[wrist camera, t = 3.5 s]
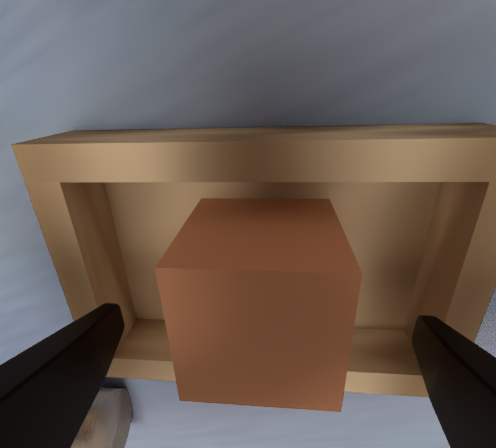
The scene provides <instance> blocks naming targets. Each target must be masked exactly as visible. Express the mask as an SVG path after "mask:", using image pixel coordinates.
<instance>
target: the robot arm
mask: <svg viewBox="0 0 496 448" xmlns="http://www.w3.org/2000/svg"><path fill="white" fill-rule="evenodd" d="M124 327H125V324H124V319H123V315H122V312H121V308H120V306H119V304H117V303H104V304H103V305H101V306H99V307H97V308H96V309H94V310H92V311H91V312H89V313H87V314H86V315H84V316H82V317H81V318H79V319H77V320H76V321H74V322H72V323H71V324H69V325H67V326H65V327H64V328H62V329H60V330H59V331H57V332H55V333H54V334H52V335H50V336H49V337H47V338H45V339H44V340H42V341H40V342H38V343H37V344H35V345H33V346H32V347H30V348H28V349H27V350H25V351H23V352H22V353H20V354H18V355H17V356H15V357H13V358H11V359H10V360H8V361H6V362H5V363H3V364H1V365H0V448H71V446H72V444H73V442H74V440H75V438H76V436H77V434H78V432H79V430H80V428H81V426H82V424H83V422H84V420H85V418H86V416H87V414H88V412H89V410H90V408H91V406H92V404H93V402H94V400H95V398H96V396H97V394H98V392H99V390H100V388H101V386H102V384H103V382H104V380H105V378H106V375H107V373H108V371H109V368H110V365H111V363H112V360H113V358H114V355H115V352H116V350H117V347H118V345H119V342H120V339H121V337H122V334H123V331H124ZM412 345H413V348H414V351H415V355H416V358H417V361H418V364H419V367H420V371H421V374H422V377H423V380H424V383H425V387H426V390H427V393H428V395H429V398H430V401H431V403H432V406H433V408H434V410H435V413H436V415H437V417H438V420H439V422H440V424H441V427H442V429H443V431H444V433H445V436H446V438H447V440H448V443H449V445H450V447H451V448H496V358H495V357H494V356H492V355H491V354H490V353H488V352H487V351H485V350H484V349H482V348H481V347H479V346H478V345H476V344H475V343H473V342H472V341H471V340H469V339H468V338H466V337H465V336H463V335H462V334H460V333H459V332H457V331H456V330H455V329H453V328H452V327H450V326H449V325H447V324H446V323H444V322H443V321H441V320H440V319H438V318H437V317H435V316H432V315H419V316H418V317H417V319H416V322H415V326H414V330H413V333H412Z"/></svg>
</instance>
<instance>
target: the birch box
mask: <svg viewBox="0 0 496 448" xmlns="http://www.w3.org/2000/svg"><path fill="white" fill-rule="evenodd" d="M12 148H13V151H14V154H15V156H16V159H17V162H18V165H19V168H20V170H21V173H22V176H23V179H24V182H25V185H26V187H27V190H28V193H29V196H30V199H31V201H32V204H33V207H34V210H35V213H36V216H37V218H38V221H39V224H40V227H41V230H42V233H43V235H44V238H45V241H46V244H47V247H48V249H49V252H50V255H51V258H52V261H53V264H54V266H55V269H56V272H57V275H58V278H59V281H60V283H61V286H62V289H63V292H64V295H65V297H66V300H67V303H68V306H69V309H70V312H71V314H72V317H73V320H74V321H76V320H77V319H79V318H81V317H82V316H84V315H86V314H87V313H89V312H91V311H92V310H94V309H96V308H97V307H99V306H101V305H103V304H104V303H117V304H119V306H120V308H121V312H122V315H123V319H124V324H125V327H124V331H123V334H122V337H121V339H120V342H119V345H118V347H117V350H116V352H115V355H114V358H113V360H112V363H111V365H110V368H109V371H108V373H107V375H106V377H117V378H133V379H149V380H165V381H176V378H175V373H174V367H173V362H172V357H171V352H170V346H169V341H168V336H167V330H166V325H165V320H164V314H163V309H162V304H161V299H160V293H159V288H158V283H157V277H156V272H155V267H156V265H157V264H158V262H159V261H160V259H161V258H162V256H163V255H164V253H165V252H166V250H167V249H168V247H169V246H170V244H171V243H172V241H173V240H174V238H175V237H176V235H177V234H178V232H179V231H180V229H181V228H182V226H183V225H184V223H185V222H186V220H187V219H188V217H189V216H190V214H191V213H192V211H193V210H194V208H195V207H196V205H197V204H198V202H199V201H200V199H201V198H240V199H330V201H331V204H332V206H333V208H334V210H335V213H336V215H337V217H338V219H339V222H340V224H341V226H342V228H343V231H344V233H345V235H346V237H347V239H348V242H349V244H350V246H351V248H352V251H353V253H354V255H355V257H356V260H357V262H358V264H359V266H360V269H361V271H362V273H363V274H362V280H361V287H360V293H359V299H358V306H357V312H356V319H355V325H354V331H353V338H352V344H351V350H350V357H349V363H348V369H347V376H346V382H345V388H344V392H357V393H373V394H389V395H405V396H421V397H429V395H428V393H427V390H426V387H425V383H424V380H423V377H422V374H421V371H420V367H419V364H418V361H417V358H416V355H415V351H414V348H413V345H412V333H413V330H414V326H415V322H416V319H417V317H418V316H419V315H432V316H435V317H437V318H438V319H440V320H441V321H443V322H444V323H446V324H447V325H449V326H450V327H452V328H453V329H455V330H456V331H457V332H459V333H460V334H462V335H463V336H465V337H466V338H468V339H469V340H471V341H472V342H473V343H474V341H475V339H476V336H477V333H478V331H479V328H480V326H481V323H482V321H483V318H484V315H485V313H486V310H487V308H488V305H489V303H490V300H491V297H492V295H493V292H494V290H495V287H496V126H495V125H489V124H484V123H465V124H410V125H356V126H301V127H247V128H193V129H138V130H84V131H69V132H64V133H60V134H55V135H51V136H47V137H42V138H38V139H34V140H29V141H25V142H20V143H16V144H12Z"/></svg>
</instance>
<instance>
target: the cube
mask: <svg viewBox="0 0 496 448" xmlns="http://www.w3.org/2000/svg"><path fill="white" fill-rule="evenodd" d="M155 272H156V277H157V283H158V288H159V293H160V299H161V304H162V309H163V314H164V320H165V325H166V330H167V336H168V341H169V346H170V352H171V357H172V362H173V367H174V373H175V378H176V383H177V389H178V394H179V399H180V401H192V402H206V403H221V404H236V405H250V406H265V407H279V408H294V409H308V410H323V411H337V412H341V407H342V401H343V395H344V388H345V382H346V376H347V369H348V363H349V357H350V350H351V344H352V338H353V331H354V325H355V319H356V312H357V306H358V299H359V293H360V287H361V280H362V274H363V273H362V271H361V269H360V266H359V264H358V262H357V260H356V257H355V255H354V253H353V251H352V248H351V246H350V244H349V242H348V239H347V237H346V235H345V233H344V231H343V228H342V226H341V224H340V222H339V219H338V217H337V215H336V213H335V210H334V208H333V206H332V204H331V201H330V199H240V198H201V199H200V201H199V202H198V204H197V205H196V207H195V208H194V210H193V211H192V213H191V214H190V216H189V217H188V219H187V220H186V222H185V223H184V225H183V226H182V228H181V229H180V231H179V232H178V234H177V235H176V237H175V238H174V240H173V241H172V243H171V244H170V246H169V247H168V249H167V250H166V252H165V253H164V255H163V256H162V258H161V259H160V261H159V262H158V264H157V265H156V267H155Z"/></svg>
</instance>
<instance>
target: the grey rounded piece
mask: <svg viewBox="0 0 496 448" xmlns="http://www.w3.org/2000/svg"><path fill="white" fill-rule="evenodd" d="M131 415H132V403H131V400H130V396H129V393H128V391H127V390H126V389H123V388H109V387H101V388H100V390H99V392H98V394H97V396H96V398H95V400H94V402H93V404H92V406H91V408H90V410H89V412H88V414H87V416H86V418H85V420H84V422H83V424H82V426H81V428H80V430H79V432H78V434H77V436H76V438H75V440H74V442H73V444H72V446H71V448H124V447H125V444H126V441H127V437H128V433H129V429H130V423H131Z"/></svg>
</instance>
